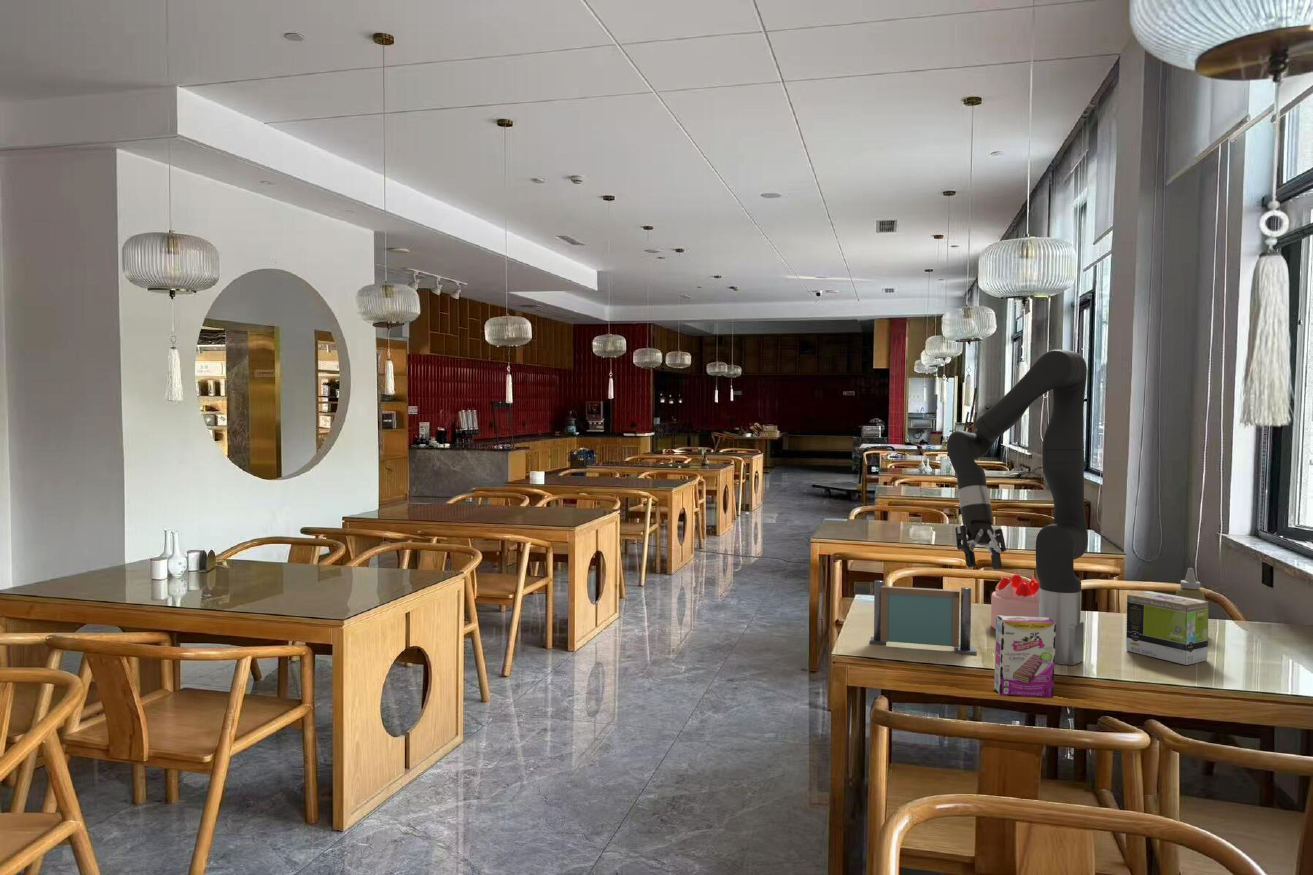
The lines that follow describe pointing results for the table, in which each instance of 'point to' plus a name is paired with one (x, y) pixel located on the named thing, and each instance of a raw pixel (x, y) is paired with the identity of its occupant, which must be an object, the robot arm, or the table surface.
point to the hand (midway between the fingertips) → (984, 567)
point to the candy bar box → (1025, 656)
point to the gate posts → (965, 620)
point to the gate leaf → (920, 616)
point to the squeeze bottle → (1190, 587)
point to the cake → (1015, 598)
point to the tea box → (1167, 627)
